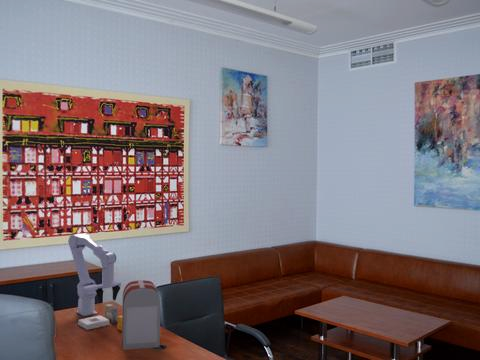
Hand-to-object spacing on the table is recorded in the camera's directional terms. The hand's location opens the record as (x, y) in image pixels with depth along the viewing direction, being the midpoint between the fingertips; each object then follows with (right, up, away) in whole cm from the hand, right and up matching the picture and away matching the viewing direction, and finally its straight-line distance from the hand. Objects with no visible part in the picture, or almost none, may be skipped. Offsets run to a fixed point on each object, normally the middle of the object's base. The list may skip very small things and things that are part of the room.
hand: (107, 301), depth 252 cm
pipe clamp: (+16, -11, -16) cm, 25 cm away
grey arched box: (+24, -11, -31) cm, 41 cm away
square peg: (0, -9, +1) cm, 9 cm away
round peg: (+5, -10, -5) cm, 12 cm away
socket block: (-4, -10, -10) cm, 14 cm away
